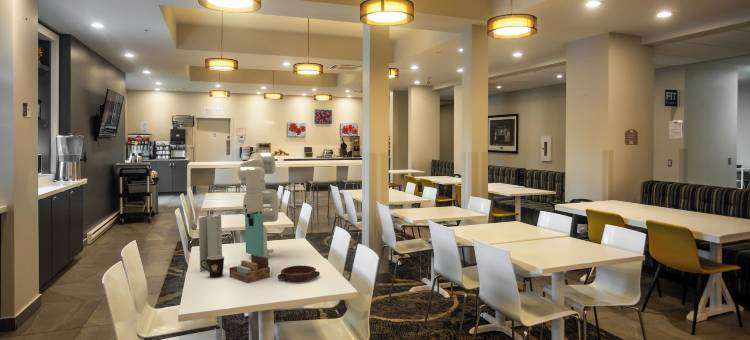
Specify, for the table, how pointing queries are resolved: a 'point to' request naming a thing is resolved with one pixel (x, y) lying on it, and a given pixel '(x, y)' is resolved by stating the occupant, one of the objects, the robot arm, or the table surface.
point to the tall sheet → (254, 235)
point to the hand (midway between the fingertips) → (254, 225)
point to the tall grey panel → (209, 238)
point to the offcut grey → (243, 270)
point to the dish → (298, 273)
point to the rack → (253, 275)
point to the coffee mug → (215, 265)
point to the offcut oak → (249, 265)
